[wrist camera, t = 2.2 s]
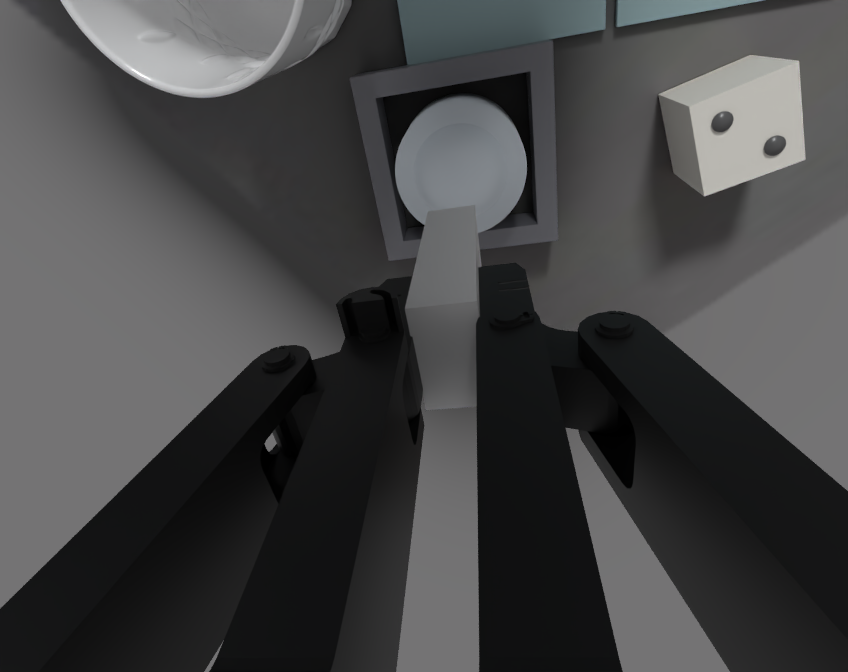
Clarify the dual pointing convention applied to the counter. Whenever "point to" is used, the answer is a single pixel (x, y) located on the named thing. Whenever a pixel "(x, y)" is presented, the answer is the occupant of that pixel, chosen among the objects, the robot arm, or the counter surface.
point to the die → (735, 123)
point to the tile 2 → (666, 9)
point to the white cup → (207, 39)
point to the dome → (461, 159)
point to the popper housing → (450, 72)
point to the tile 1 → (490, 24)
